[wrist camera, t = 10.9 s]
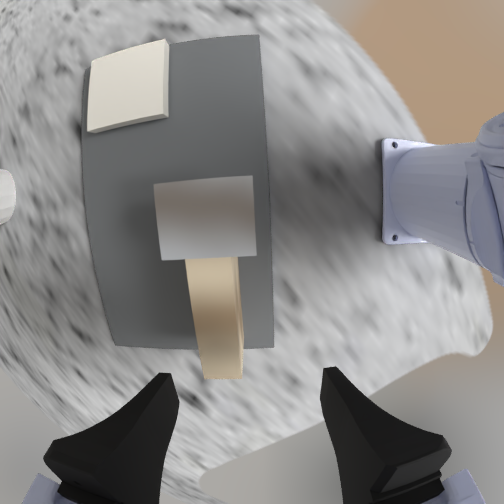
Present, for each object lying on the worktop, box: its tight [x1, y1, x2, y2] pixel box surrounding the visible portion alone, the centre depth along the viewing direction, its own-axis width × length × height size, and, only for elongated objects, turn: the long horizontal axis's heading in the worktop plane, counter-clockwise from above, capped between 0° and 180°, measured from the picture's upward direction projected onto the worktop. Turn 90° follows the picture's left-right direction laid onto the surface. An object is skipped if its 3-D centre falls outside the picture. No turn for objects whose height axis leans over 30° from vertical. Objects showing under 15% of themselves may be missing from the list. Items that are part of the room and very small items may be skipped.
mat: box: [82, 35, 274, 349], centre depth 18 cm, size 14×24×1 cm, turn 3°
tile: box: [87, 39, 169, 133], centre depth 15 cm, size 6×1×6 cm
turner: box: [153, 175, 257, 379], centre depth 17 cm, size 12×5×5 cm, turn 3°
